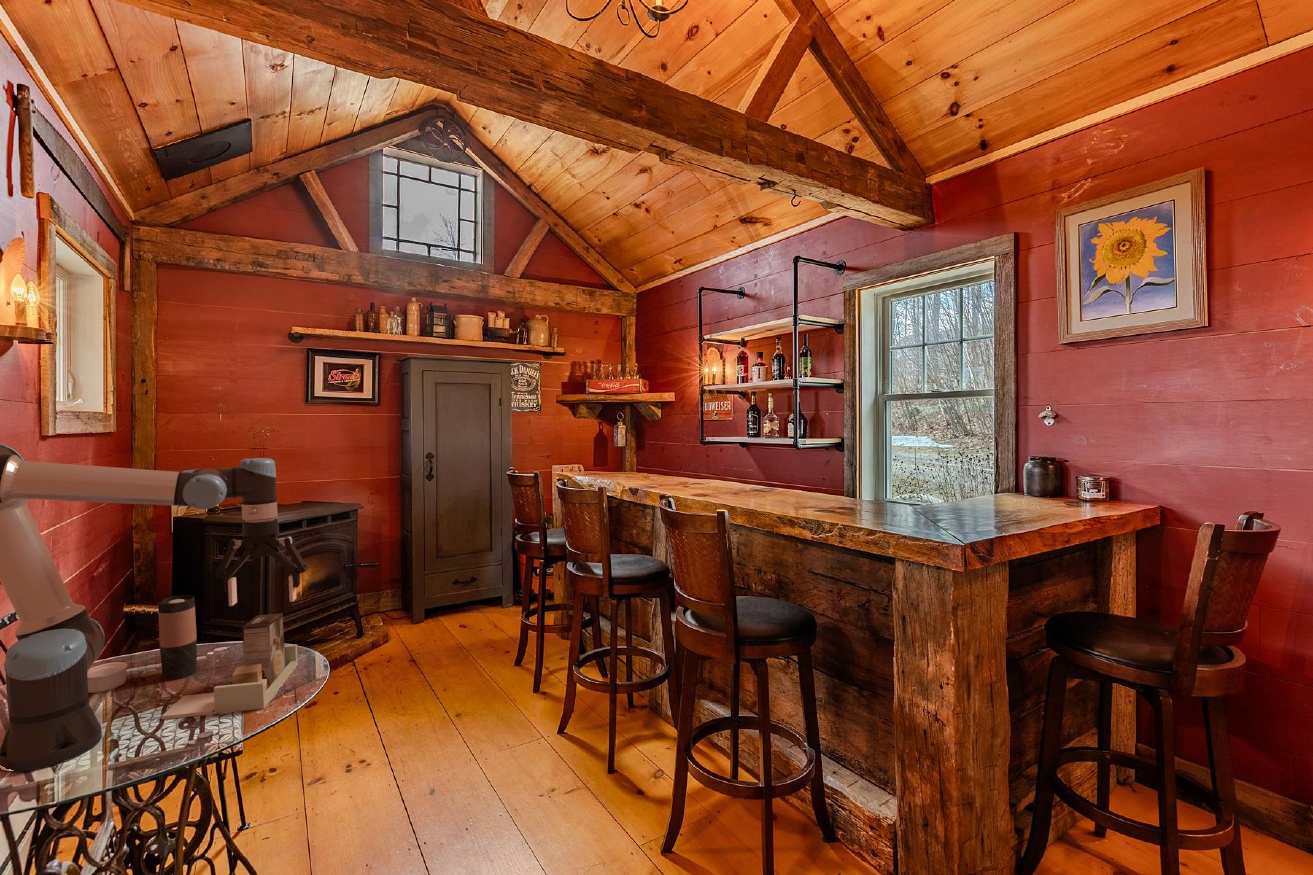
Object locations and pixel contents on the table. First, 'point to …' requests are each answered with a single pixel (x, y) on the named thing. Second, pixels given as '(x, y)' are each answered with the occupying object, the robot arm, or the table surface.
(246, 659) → the coffee box
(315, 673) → the table surface
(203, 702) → the plate
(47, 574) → the robot arm
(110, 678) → the round wooden block
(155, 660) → the table surface
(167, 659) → the travel mug
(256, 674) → the offcut top
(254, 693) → the rack
